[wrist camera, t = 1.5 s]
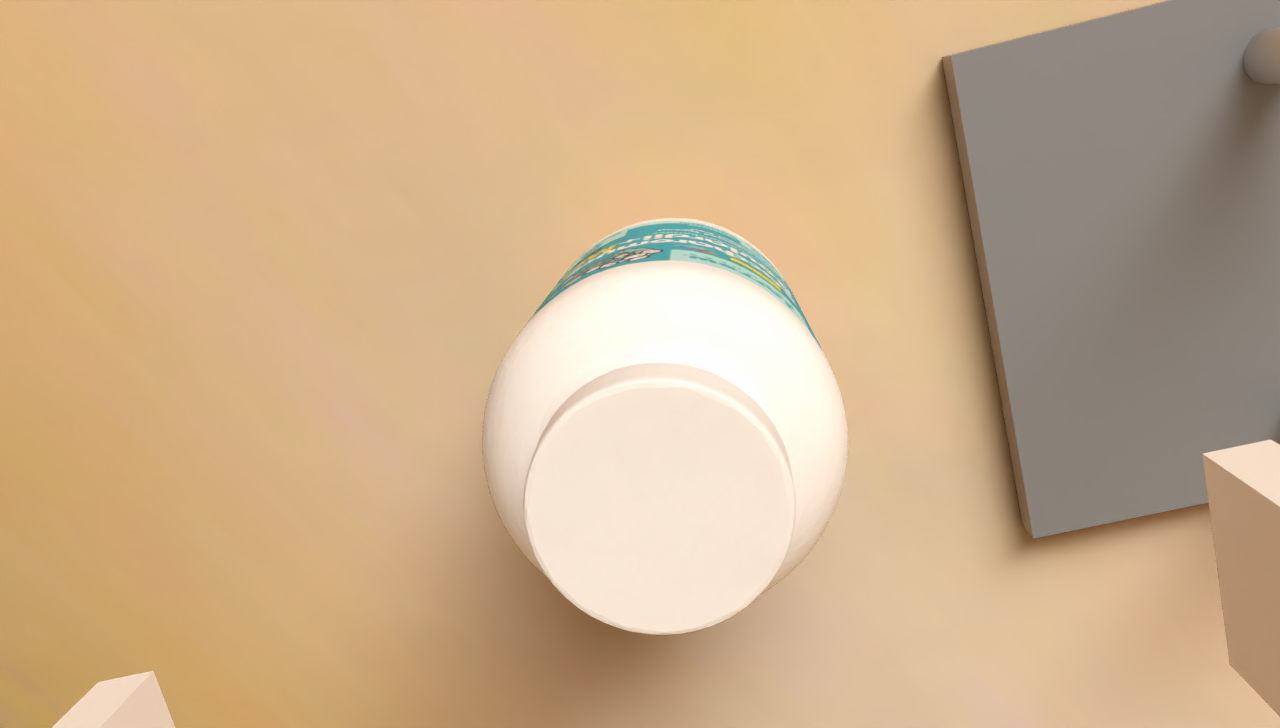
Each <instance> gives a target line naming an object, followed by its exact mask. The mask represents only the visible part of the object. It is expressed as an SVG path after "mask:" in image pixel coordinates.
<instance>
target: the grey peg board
mask: <svg viewBox="0 0 1280 728" xmlns="http://www.w3.org/2000/svg"><path fill="white" fill-rule="evenodd" d="M942 61H943V67H944V73H945V78H946V84H947V90H948V96H949V101H950V107H951V113H952V119H953V125H954V130H955V136H956V142H957V148H958V154H959V159H960V165H961V171H962V177H963V183H964V188H965V194H966V200H967V206H968V211H969V217H970V223H971V229H972V235H973V240H974V246H975V252H976V258H977V264H978V269H979V275H980V281H981V287H982V293H983V298H984V304H985V310H986V316H987V322H988V327H989V333H990V339H991V345H992V350H993V356H994V362H995V368H996V374H997V379H998V385H999V391H1000V397H1001V403H1002V408H1003V414H1004V420H1005V426H1006V432H1007V437H1008V443H1009V449H1010V455H1011V460H1012V466H1013V472H1014V478H1015V484H1016V489H1017V495H1018V501H1019V507H1020V513H1021V518H1022V524H1023V526H1024V528H1025V529H1026V530H1027V531H1028V533H1029V534H1030V535H1031V536H1032V538H1033V539H1035V538H1039V537H1044V536H1049V535H1054V534H1059V533H1064V532H1068V531H1073V530H1078V529H1083V528H1088V527H1093V526H1098V525H1102V524H1107V523H1112V522H1117V521H1122V520H1127V519H1132V518H1136V517H1141V516H1146V515H1151V514H1156V513H1161V512H1165V511H1170V510H1175V509H1180V508H1185V507H1190V506H1195V505H1199V504H1204V503H1209V501H1208V493H1207V485H1206V478H1205V470H1204V462H1203V455H1202V454H1203V453H1208V452H1213V451H1218V450H1222V449H1227V448H1232V447H1237V446H1242V445H1246V444H1251V443H1256V442H1261V441H1266V440H1272V441H1274V442H1276V443H1278V444H1279V445H1280V0H1168V1H1164V2H1160V3H1156V4H1152V5H1148V6H1144V7H1140V8H1136V9H1132V10H1128V11H1124V12H1120V13H1116V14H1112V15H1108V16H1104V17H1100V18H1097V19H1093V20H1089V21H1085V22H1081V23H1077V24H1073V25H1069V26H1065V27H1061V28H1057V29H1053V30H1049V31H1045V32H1041V33H1037V34H1033V35H1029V36H1025V37H1021V38H1017V39H1013V40H1009V41H1005V42H1001V43H997V44H993V45H989V46H985V47H981V48H977V49H973V50H969V51H965V52H961V53H957V54H953V55H949V56H945V57H942Z"/></svg>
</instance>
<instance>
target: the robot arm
mask: <svg viewBox="0 0 1280 728" xmlns="http://www.w3.org/2000/svg"><path fill="white" fill-rule="evenodd" d="M1202 455H1203V462H1204V470H1205V478H1206V485H1207V493H1208V501H1209V509H1210V516H1211V524H1212V532H1213V540H1214V547H1215V555H1216V563H1217V570H1218V578H1219V586H1220V594H1221V601H1222V609H1223V617H1224V625H1225V632H1226V640H1227V648H1228V655H1229V663H1230V665H1231V666H1232V667H1233V668H1234V669H1235V670H1236V671H1237V672H1238V673H1239V675H1240V676H1241V677H1242V678H1243V679H1244V680H1245V681H1246V682H1247V683H1248V684H1249V685H1250V686H1251V687H1252V688H1253V689H1254V690H1255V691H1256V692H1257V693H1258V694H1259V695H1260V696H1261V697H1262V698H1263V700H1264V701H1265V702H1266V703H1267V704H1268V705H1269V706H1270V707H1271V708H1272V709H1273V710H1274V711H1275V712H1276V713H1277V714H1278V715H1279V716H1280V445H1279V444H1278V443H1276V442H1274V441H1272V440H1266V441H1261V442H1256V443H1251V444H1246V445H1242V446H1237V447H1232V448H1227V449H1222V450H1218V451H1213V452H1208V453H1203V454H1202ZM52 728H175V726H174V723H173V721H172V718H171V715H170V713H169V710H168V708H167V705H166V702H165V700H164V697H163V695H162V692H161V689H160V687H159V684H158V682H157V679H156V677H155V674H154V671H150V672H145V673H140V674H135V675H130V676H125V677H121V678H116V679H111V680H106V681H101V682H98V683H97V684H96V685H95V686H94V687H93V688H92V689H91V690H90V691H89V692H88V693H87V694H86V695H85V696H84V697H83V698H82V699H81V700H80V701H79V702H77V703H76V704H75V705H74V706H73V707H72V708H71V709H70V710H69V711H68V712H67V713H66V714H65V715H64V716H63V717H62V718H61V719H60V720H59V721H58V722H57V723H56V724H55V725H54V726H53V727H52Z"/></svg>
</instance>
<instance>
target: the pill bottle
mask: <svg viewBox="0 0 1280 728" xmlns="http://www.w3.org/2000/svg"><path fill="white" fill-rule="evenodd" d="M482 452H483V461H484V469H485V474H486V479H487V483H488V488H489V491H490V494H491V497H492V500H493V503H494V505H495V508H496V510H497V513H498V515H499V517H500V519H501V520H502V522H503V524H504V526H505V528H506V530H507V531H508V533H509V534H510V536H511V538H512V539H513V541H514V542H515V543H516V545H517V546H518V547H519V549H520V550H521V551H522V552H523V554H524V555H525V556H526V557H527V558H528V559H529V560H530V562H531V563H532V564H533V565H535V566H536V567H537V568H538V569H539V570H540V571H541V572H542V573H543V574H544V575H545V576H547V578H548V579H549V580H550V581H551V583H552V584H553V585H554V586H555V588H556V589H557V590H558V591H559V592H560V593H561V594H562V595H563V596H564V597H565V598H566V599H567V600H569V601H570V602H571V603H572V604H574V605H575V606H576V607H578V608H579V609H580V610H582V611H583V612H585V613H587V614H588V615H590V616H591V617H593V618H595V619H597V620H599V621H601V622H603V623H606V624H609V625H611V626H614V627H616V628H619V629H622V630H626V631H630V632H636V633H642V634H650V635H669V634H682V633H688V632H694V631H698V630H701V629H704V628H708V627H711V626H713V625H715V624H717V623H720V622H722V621H724V620H726V619H728V618H730V617H732V616H733V615H735V614H736V613H738V612H739V611H741V610H742V609H744V608H745V607H746V606H748V605H749V604H751V603H752V602H753V601H754V600H755V599H756V598H757V597H758V596H759V595H760V594H762V593H764V592H765V591H767V590H768V589H770V588H771V587H772V586H774V585H775V584H777V583H778V582H779V581H781V580H782V579H783V578H784V577H785V576H787V575H788V574H789V573H790V572H791V571H792V570H793V569H794V568H795V567H796V566H797V565H798V564H799V563H800V562H801V561H802V560H803V559H804V558H805V557H806V556H807V554H808V553H809V552H810V551H811V549H812V548H813V547H814V545H815V544H816V542H817V541H818V540H819V538H820V537H821V535H822V534H823V532H824V530H825V528H826V526H827V524H828V522H829V520H830V519H831V517H832V514H833V512H834V510H835V507H836V505H837V502H838V499H839V497H840V494H841V489H842V485H843V481H844V476H845V471H846V466H847V456H848V431H847V421H846V415H845V410H844V404H843V400H842V396H841V393H840V390H839V386H838V383H837V381H836V379H835V376H834V374H833V372H832V369H831V367H830V364H829V362H828V360H827V358H826V356H825V355H824V353H823V351H822V349H821V347H820V345H819V343H818V341H817V339H816V338H815V336H814V334H813V332H812V330H811V328H810V326H809V324H808V322H807V320H806V318H805V317H804V315H803V313H802V311H801V309H800V307H799V305H798V303H797V301H796V299H795V297H794V295H793V293H792V291H791V290H790V288H789V286H788V284H787V283H786V281H785V279H784V278H783V276H782V275H781V273H780V272H779V271H778V269H777V268H776V267H775V266H774V265H773V263H772V262H771V261H770V260H769V259H768V258H767V257H766V256H765V255H764V254H763V253H762V252H761V251H760V250H759V249H758V248H756V247H755V246H754V245H753V244H751V243H750V242H748V241H747V240H745V239H744V238H742V237H741V236H739V235H737V234H735V233H733V232H731V231H729V230H727V229H725V228H723V227H720V226H717V225H714V224H711V223H708V222H704V221H700V220H694V219H685V218H664V219H655V220H648V221H642V222H639V223H635V224H632V225H629V226H626V227H623V228H621V229H619V230H617V231H615V232H613V233H611V234H609V235H607V236H606V237H604V238H602V239H601V240H599V241H598V242H596V243H595V244H594V245H593V246H591V247H590V248H589V249H588V250H587V251H586V252H585V253H583V254H582V255H581V256H580V257H579V258H578V259H577V260H576V261H575V262H574V264H573V265H572V266H571V267H570V268H569V270H568V271H567V272H566V273H565V275H564V276H563V277H562V278H561V279H560V281H559V282H558V283H557V285H556V286H555V287H554V289H553V290H552V291H551V292H550V294H549V295H548V297H547V298H546V299H545V300H544V302H543V303H542V305H541V306H540V307H539V308H538V310H537V311H536V312H535V314H534V315H533V317H532V318H531V319H530V320H529V322H528V323H527V324H526V325H525V327H524V328H523V329H522V331H521V332H520V334H519V335H518V336H517V337H516V339H515V340H514V342H513V343H512V345H511V346H510V348H509V349H508V351H507V353H506V354H505V356H504V358H503V360H502V361H501V363H500V365H499V367H498V369H497V371H496V374H495V376H494V379H493V382H492V385H491V388H490V391H489V395H488V399H487V403H486V408H485V413H484V421H483V433H482Z"/></svg>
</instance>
